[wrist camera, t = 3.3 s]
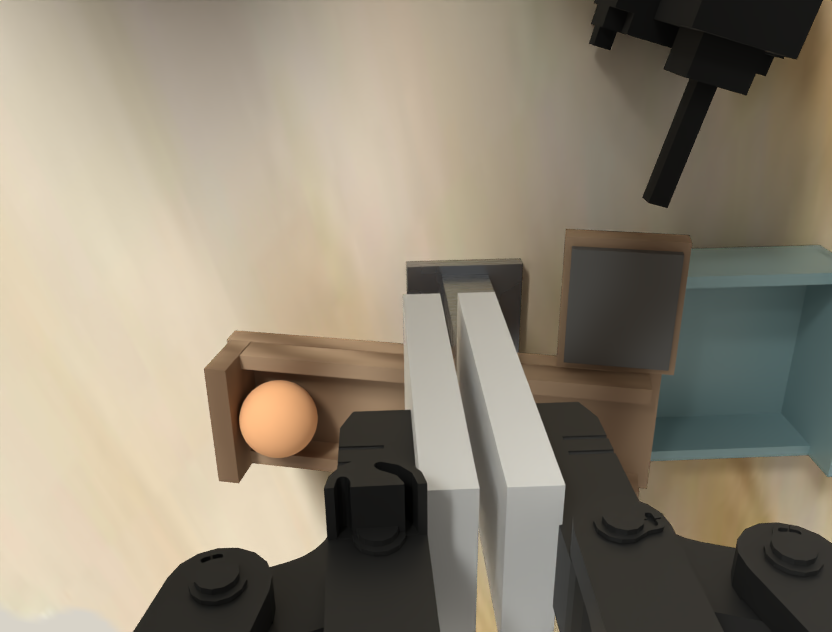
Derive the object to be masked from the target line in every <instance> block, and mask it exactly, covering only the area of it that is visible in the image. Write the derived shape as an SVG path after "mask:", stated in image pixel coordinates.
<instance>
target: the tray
mask: <svg viewBox="0 0 832 632" xmlns="http://www.w3.org/2000/svg"><path fill="white" fill-rule="evenodd" d="M797 455H809V456H810V458H811V459H812V460H813V461H814V462H815V463H816V464H817V466H818V467H819V468H820V469H821V470H822V471H823V472H824V474H825V475H826V476H827V477H832V253H831V252H830V251H828V250H827V249H825V248H824V247H822V246H821V245H807V246H770V247H732V248H695V249H691V255H690V263H689V270H688V277H687V284H686V291H685V299H684V306H683V313H682V320H681V327H680V335H679V342H678V349H677V356H676V363H675V371H674V375H665V374H662V377H661V384H660V392H659V399H658V407H657V414H656V422H655V430H654V437H653V445H652V452H651V460H650V461H666V460H692V459H718V458H745V457H771V456H797Z"/></svg>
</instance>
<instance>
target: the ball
mask: <svg viewBox="0 0 832 632" xmlns="http://www.w3.org/2000/svg"><path fill="white" fill-rule="evenodd" d="M317 423H318V414H317V409H316V405H315V403H314V401H313V399H312V397H311V396H310V395H309V393H308V392H307V391H306V390H305V389H303V388H302V387H301V386H299V385H297V384H295V383H293V382H289V381H285V380H274V381H269V382H266V383H263V384H261V385H259V386H258V387H256V388H255V389H254V390H252V391H251V393H250V394H249V395H248V396H247V397H246V399H245V400H244V402H243V405H242V407H241V410H240V416H239V424H240V429H241V433H242V435H243V437H244V439H245V441H246V442H247V444H248V445H249V446H250V447H251V448H252V449H253V450H255V451H256V452H257V453H259V454H261V455H264V456H267V457H271V458H284V457H289V456H292V455H294V454H296V453H298V452H299V451H301V450H302V449H304V448H305V447H306V446H307V445H308V444H309V442H310V441H311V439H312V438H313V436H314V434H315V431H316V428H317Z"/></svg>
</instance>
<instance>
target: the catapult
mask: <svg viewBox="0 0 832 632" xmlns="http://www.w3.org/2000/svg"><path fill="white" fill-rule="evenodd" d="M691 248H692V241H691V238H690V235H677V234H657V233H637V232H617V231H596V230H576V229H566V234H565V248H564V262H563V277H562V291H561V305H560V319H559V334H558V348H557V356H555V355H542V354H530V353H517V354H518V357H519V360H520V363H521V365H522V368H523V371H524V374H525V376H526V379H527V382H528V384H529V387H530V390H531V393H532V395H533V398H534V401H535V403H556V402H579V403H581V404H582V405H583V406H584V407H586V408H587V409H588V410H590V411H591V412H592V413H593V414H595V415H596V416H597V417H598V418H599V420H600V422H601V425H602V427H603V429H604V431H605V433H606V435H607V438H608V439H609V441H610V443H611V445H612V447H613V449H614V453H616V455H617V457H618V459H619V461H620V463H621V465H622V467H623V469H624V471H625V473H626V475H627V477H628V479H629V481H630V483H631V485H632V488H633V490H634V492H635V494H636V496H637V498H638V496H639V488H645V489H647V483H648V475H649V467H650V460H651V452H652V445H653V437H654V430H655V422H656V414H657V407H658V399H659V392H660V384H661V377H662V374H665V375H674V371H675V363H676V356H677V349H678V342H679V335H680V327H681V320H682V313H683V306H684V299H685V291H686V284H687V277H688V270H689V263H690V255H691ZM451 350H452V355H453V360H454V365H455V370H456V375H457V368H456V363H455V359H454V354H453V349H452V347H451ZM204 373H205V381H206V388H207V395H208V403H209V410H210V418H211V425H212V432H213V440H214V447H215V455H216V462H217V470H218V477H219V481H224V482H233V483H239V482H240V481H241V479H242V478H243V476H244V475H245V473H246V472H247V470H248V469H249V467H250V466H251V464H252V463H256V464H265V465H274V466H284V467H293V468H302V469H311V470H320V471H329V472H334V471H335V470H337V466H338V450H339V434H340V427H341V426H342V425H343V424H344V422H345V421H346V420H347V419H348V417H349V416H350V415H351V414H352V412H355V411H384V410H405V386H404V344H401V343H389V342H376V341H363V340H350V339H337V338H324V337H312V336H299V335H286V334H273V333H260V332H248V331H234V333H233V334H232V335H231V336H230V337H229V338H228V339H227V345H226V346H225V347H224V348H223V349H222V350H221V351H220V352H219V353H218V354H217V355H216V356H215V357H214V359H213V360H212V361H211V362H210V363H209V364H208V365H207V366H206V367H205V368H204ZM274 380H285V381H289V382H293V383H295V384H297V385H299V386H301V387H302V388H303V389H305V390H306V391H307V392H308V393H309V395H310V396H311V397H312V399H313V401H314V403H315V405H316V409H317V414H318V423H317V428H316V431H315V434H314V436H313V438H312V439H311V441H310V442H309V444H308V445H307V446H306V447H305V448H304V449H302V450H301V451H299V452H298V453H296V454H294V455H292V456H289V457H284V458H271V457H267V456H264V455H261V454H259V453H257V452H256V451H255V450H253V449H252V448H251V447H250V446H249V445H248V444H247V442H246V441H245V439H244V437H243V435H242V433H241V429H240V424H239V416H240V410H241V407H242V405H243V402H244V400H245V399H246V397H247V396H248V395H249V394H250V393H251V391H252V390H254V389H255V388H256V387H258V386H259V385H261V384H263V383H266V382H269V381H274Z"/></svg>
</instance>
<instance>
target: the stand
mask: <svg viewBox="0 0 832 632" xmlns="http://www.w3.org/2000/svg"><path fill="white" fill-rule="evenodd" d="M522 269H523V263H522V261H521V259H485V260H448V261H411V262H406V275H407V294H438V293H440V296H441V301H442V306H443V311H444V316H445V321H446V326H447V331H448V336H449V340H450V345H451V347H452V349H453V354H454V359H455V363H456V368H457V302H458V293H473V292H495V295H496V297H497V300H498V303H499V305H500V308H501V311H502V314H503V316H504V319H505V322H506V325H507V327H508V330H509V333H510V335H511V338H512V341H513V344H514V346H515V349H516V352H517V353H518V352H519V331H520V311H521V290H522Z"/></svg>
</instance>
